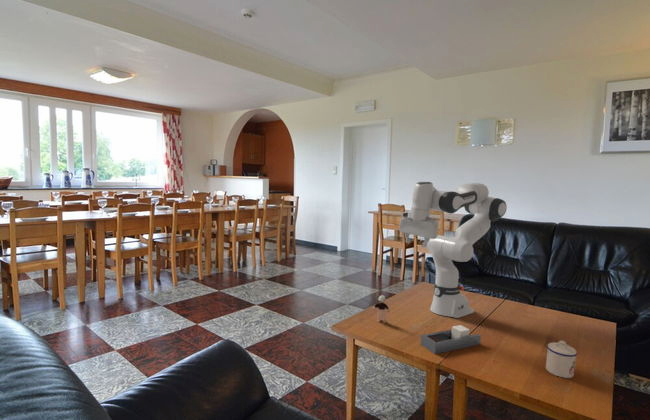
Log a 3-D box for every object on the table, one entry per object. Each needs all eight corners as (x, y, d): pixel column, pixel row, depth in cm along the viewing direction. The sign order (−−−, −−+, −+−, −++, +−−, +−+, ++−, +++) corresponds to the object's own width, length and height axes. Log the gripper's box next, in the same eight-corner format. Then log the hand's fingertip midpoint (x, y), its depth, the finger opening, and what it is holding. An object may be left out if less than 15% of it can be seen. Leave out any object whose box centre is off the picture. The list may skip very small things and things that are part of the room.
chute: (464, 335, 159) (464, 326, 159) (480, 344, 151) (480, 335, 151) (420, 344, 150) (421, 335, 149) (434, 354, 142) (435, 344, 141)
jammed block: (459, 336, 156) (460, 325, 155) (468, 341, 151) (469, 329, 151) (450, 337, 154) (451, 326, 153) (459, 343, 149) (460, 331, 149)
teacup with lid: (575, 381, 126) (579, 349, 124) (545, 373, 130) (548, 343, 129) (572, 366, 136) (575, 337, 135) (544, 359, 140) (547, 331, 139)
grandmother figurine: (388, 320, 173) (389, 294, 172) (389, 323, 169) (390, 297, 168) (372, 319, 174) (373, 293, 173) (372, 322, 170) (374, 296, 169)
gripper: (442, 219, 163) (438, 249, 163) (407, 213, 179) (403, 241, 180) (434, 218, 159) (429, 249, 160) (399, 212, 175) (395, 240, 176)
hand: (415, 244), depth 170 cm, fingers open, 8 cm apart
